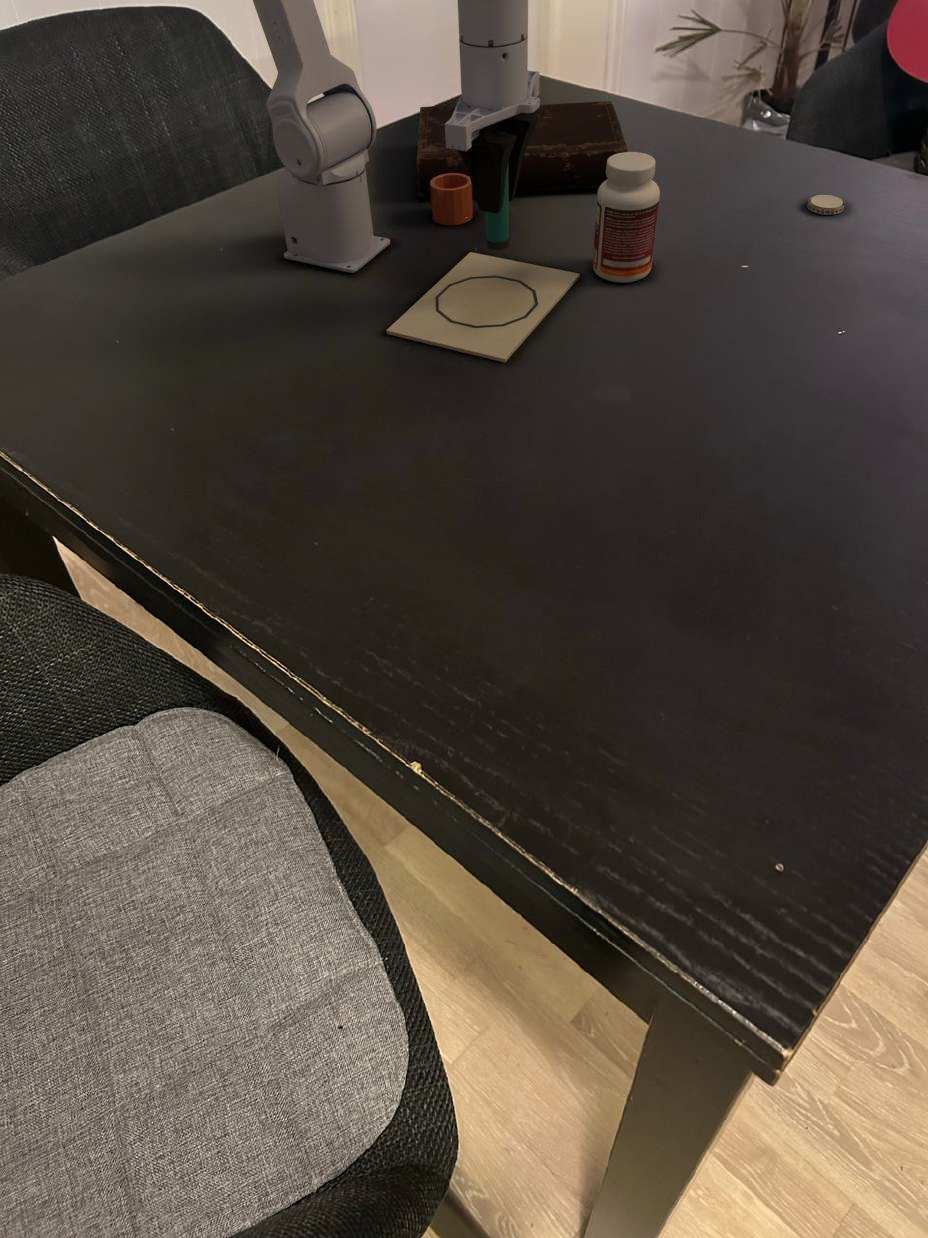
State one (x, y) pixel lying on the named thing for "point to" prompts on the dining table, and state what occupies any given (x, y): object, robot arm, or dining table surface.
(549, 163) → the diary
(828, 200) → the beige bottle cap
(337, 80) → the robot arm
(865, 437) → the dining table surface
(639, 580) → the dining table surface
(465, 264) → the sketch pad
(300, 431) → the dining table surface
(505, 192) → the marker
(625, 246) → the pill bottle
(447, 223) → the pen cup
